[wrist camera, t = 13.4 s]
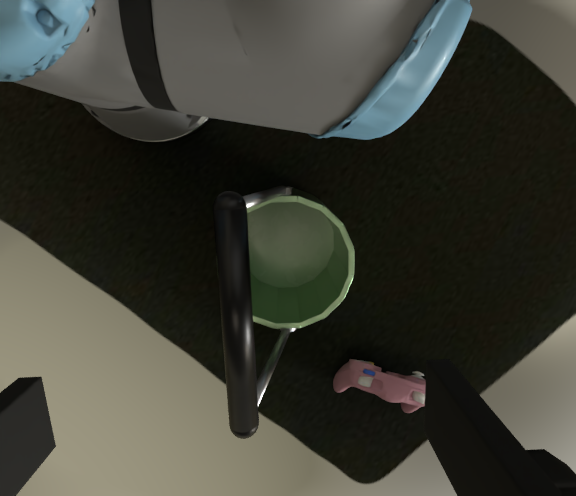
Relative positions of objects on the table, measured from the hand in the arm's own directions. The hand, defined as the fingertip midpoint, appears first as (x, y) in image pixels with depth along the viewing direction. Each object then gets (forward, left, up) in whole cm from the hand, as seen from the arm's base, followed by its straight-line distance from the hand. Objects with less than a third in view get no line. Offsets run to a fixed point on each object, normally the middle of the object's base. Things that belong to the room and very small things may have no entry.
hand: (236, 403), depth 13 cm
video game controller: (+16, +12, -28) cm, 34 cm away
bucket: (0, +2, -28) cm, 28 cm away
